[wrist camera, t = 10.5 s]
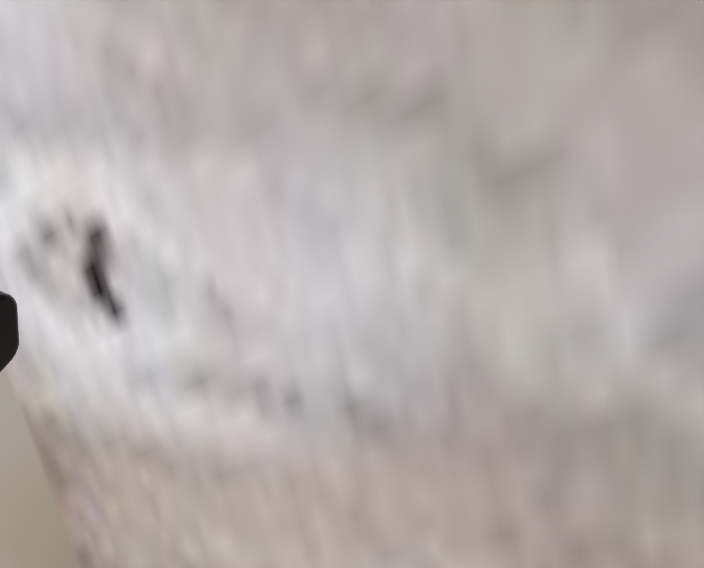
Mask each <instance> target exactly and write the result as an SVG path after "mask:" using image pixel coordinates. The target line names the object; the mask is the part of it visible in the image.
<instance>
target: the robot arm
mask: <svg viewBox="0 0 704 568" xmlns="http://www.w3.org/2000/svg"><path fill="white" fill-rule="evenodd" d="M18 345H19V331H18V314H17V304H16V301H15V300H14V298H13V297H12V296H11V295H9V294H6V293H4V292H2V291H0V372H1V371H2V370H3V369H4V368H5V366H6V365H7V364H8V363H9V362H10V361H11V360H12V358H13V357H14V355H15V354H16V352H17V349H18Z"/></svg>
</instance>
